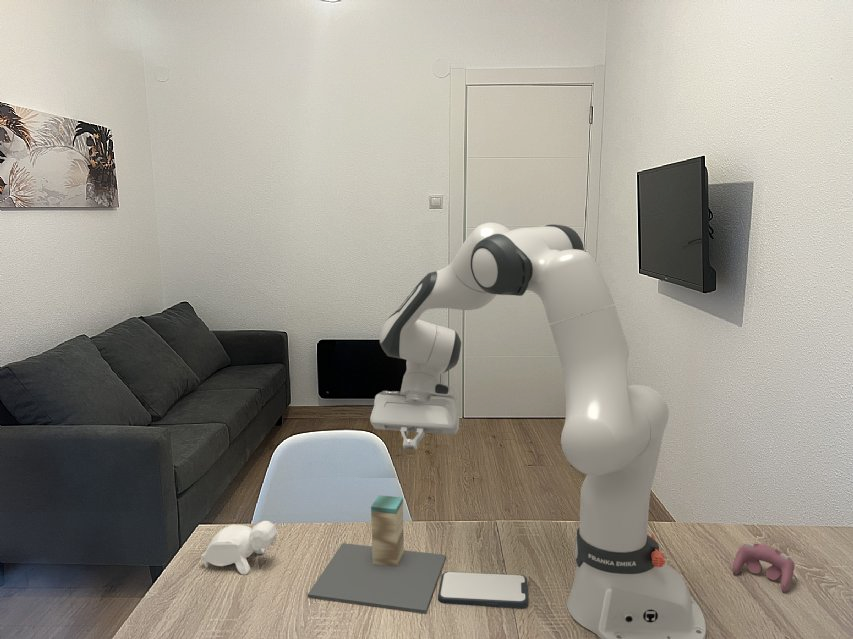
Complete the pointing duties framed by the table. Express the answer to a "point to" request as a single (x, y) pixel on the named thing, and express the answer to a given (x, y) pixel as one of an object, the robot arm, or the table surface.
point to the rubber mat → (379, 579)
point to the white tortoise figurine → (239, 545)
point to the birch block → (387, 530)
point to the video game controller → (768, 554)
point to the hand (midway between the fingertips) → (409, 448)
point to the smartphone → (484, 589)
